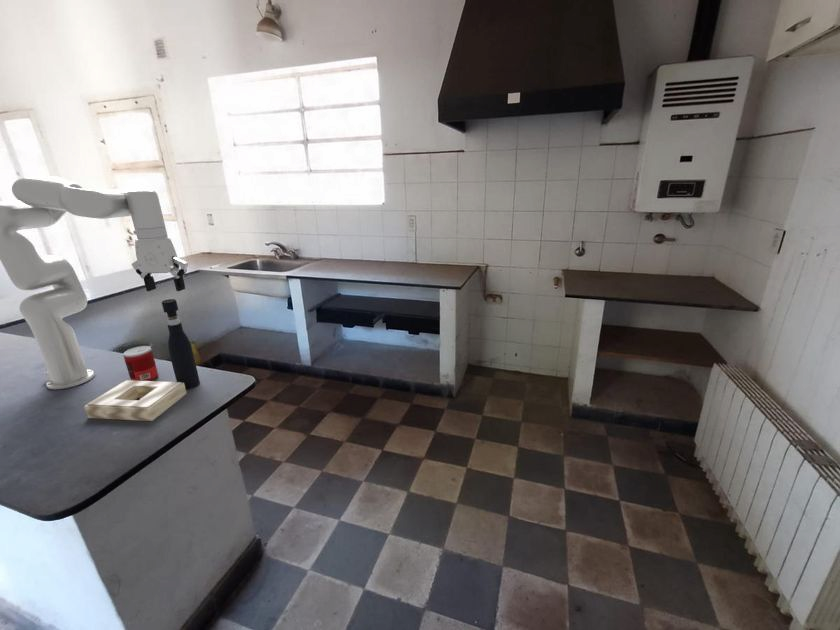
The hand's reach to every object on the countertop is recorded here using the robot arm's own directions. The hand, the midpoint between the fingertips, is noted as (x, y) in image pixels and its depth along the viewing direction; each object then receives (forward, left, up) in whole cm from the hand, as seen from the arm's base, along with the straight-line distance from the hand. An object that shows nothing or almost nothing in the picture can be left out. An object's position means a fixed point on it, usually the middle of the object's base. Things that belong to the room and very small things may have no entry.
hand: (166, 290), depth 118 cm
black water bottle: (0, 0, -34) cm, 34 cm away
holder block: (-7, -12, -34) cm, 37 cm away
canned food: (-18, +3, -34) cm, 39 cm away
